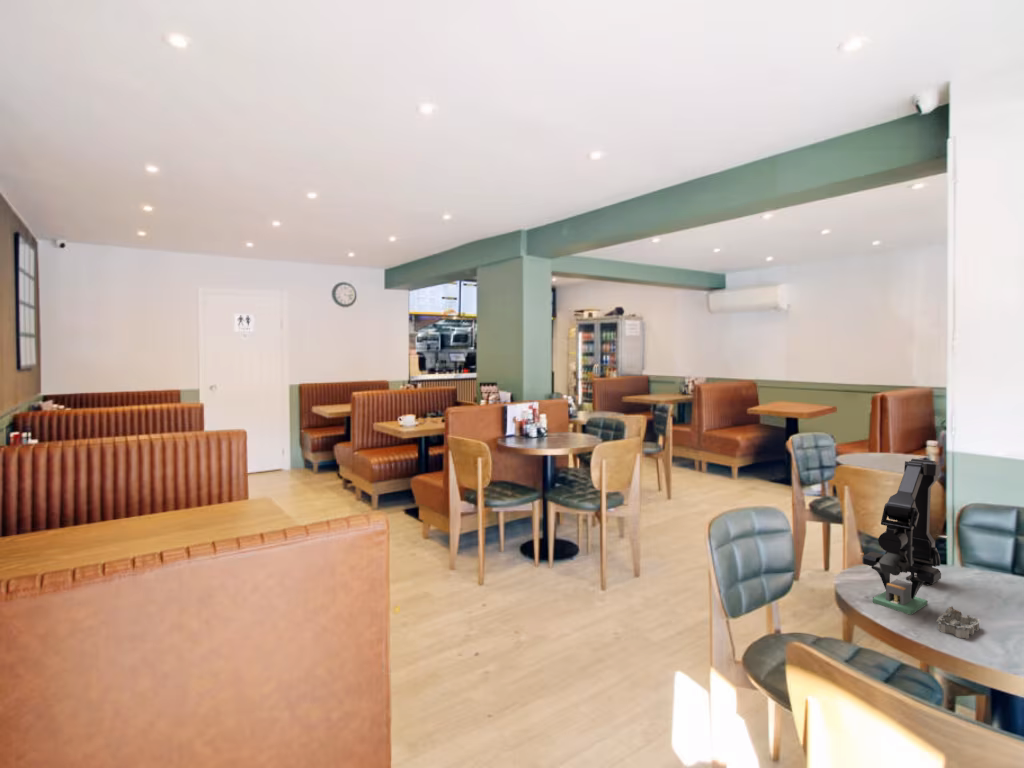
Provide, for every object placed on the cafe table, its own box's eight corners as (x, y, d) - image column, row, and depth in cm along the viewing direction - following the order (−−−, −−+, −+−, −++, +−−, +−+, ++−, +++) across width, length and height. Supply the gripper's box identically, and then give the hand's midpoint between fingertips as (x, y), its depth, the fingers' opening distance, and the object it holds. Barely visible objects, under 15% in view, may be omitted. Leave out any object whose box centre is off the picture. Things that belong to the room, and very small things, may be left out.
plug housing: (896, 593, 170) (896, 578, 169) (913, 598, 166) (914, 583, 166) (885, 599, 166) (886, 584, 166) (903, 605, 162) (903, 589, 162)
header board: (889, 592, 173) (889, 581, 173) (927, 604, 165) (927, 593, 165) (872, 602, 167) (872, 591, 167) (910, 614, 159) (911, 603, 159)
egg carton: (951, 619, 156) (951, 605, 156) (984, 630, 150) (984, 615, 149) (932, 629, 151) (932, 614, 151) (965, 641, 144) (966, 626, 144)
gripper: (853, 540, 168) (853, 590, 169) (925, 559, 153) (924, 614, 154) (871, 533, 174) (870, 581, 175) (942, 549, 159) (941, 602, 160)
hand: (899, 594), depth 166 cm, fingers open, 6 cm apart
